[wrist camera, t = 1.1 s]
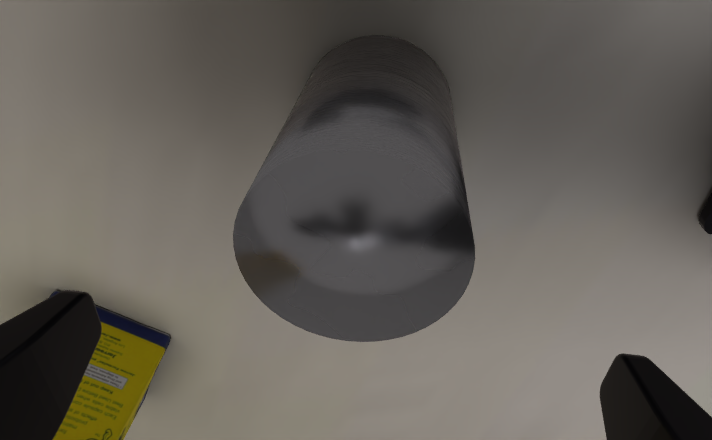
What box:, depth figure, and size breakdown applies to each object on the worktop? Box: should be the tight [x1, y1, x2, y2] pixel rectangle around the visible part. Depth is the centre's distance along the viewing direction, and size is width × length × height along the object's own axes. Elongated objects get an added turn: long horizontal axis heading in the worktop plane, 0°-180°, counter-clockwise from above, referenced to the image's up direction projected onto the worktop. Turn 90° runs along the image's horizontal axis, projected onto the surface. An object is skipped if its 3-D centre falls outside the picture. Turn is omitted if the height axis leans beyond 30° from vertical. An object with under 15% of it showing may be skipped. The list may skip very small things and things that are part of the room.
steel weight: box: [233, 35, 475, 342], centre depth 14 cm, size 5×5×8 cm
